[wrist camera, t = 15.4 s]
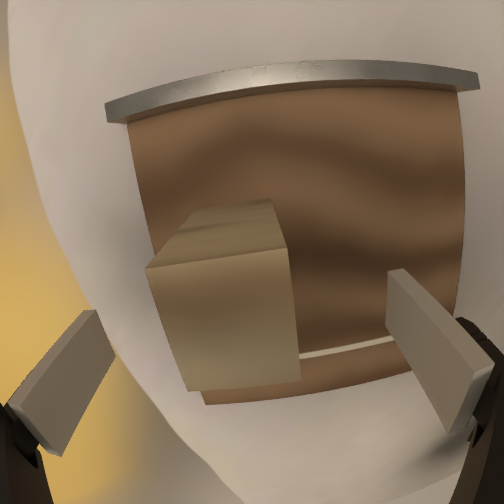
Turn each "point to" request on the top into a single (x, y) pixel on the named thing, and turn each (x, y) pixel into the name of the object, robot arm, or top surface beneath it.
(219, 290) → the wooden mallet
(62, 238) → the top surface
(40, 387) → the robot arm
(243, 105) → the board
